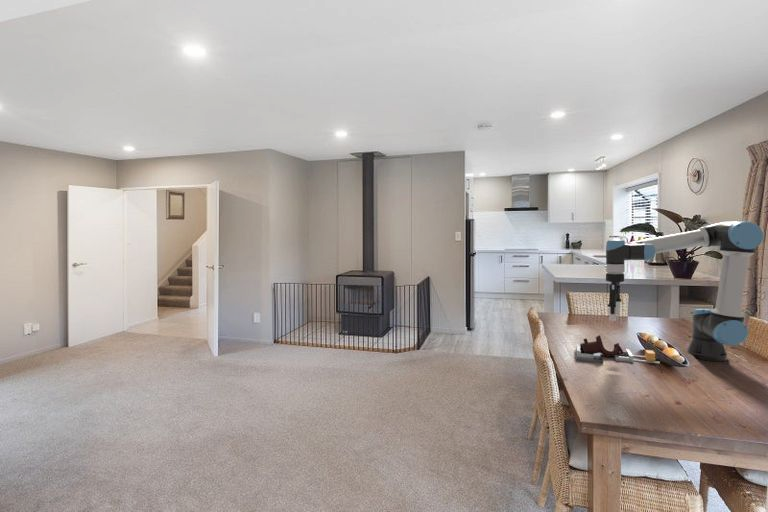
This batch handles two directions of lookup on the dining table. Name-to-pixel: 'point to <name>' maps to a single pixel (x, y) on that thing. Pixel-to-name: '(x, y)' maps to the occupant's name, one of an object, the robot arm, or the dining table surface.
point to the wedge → (649, 355)
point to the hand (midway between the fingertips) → (614, 317)
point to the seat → (598, 358)
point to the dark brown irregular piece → (599, 348)
